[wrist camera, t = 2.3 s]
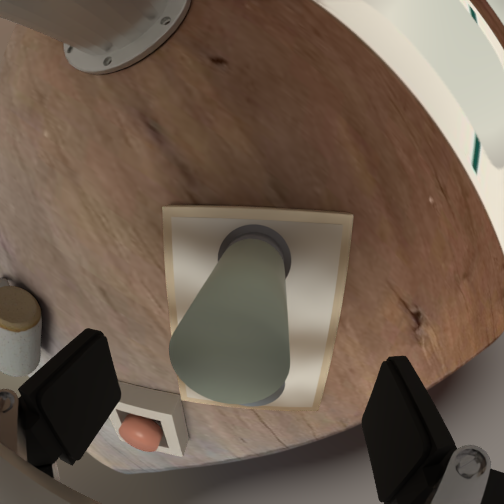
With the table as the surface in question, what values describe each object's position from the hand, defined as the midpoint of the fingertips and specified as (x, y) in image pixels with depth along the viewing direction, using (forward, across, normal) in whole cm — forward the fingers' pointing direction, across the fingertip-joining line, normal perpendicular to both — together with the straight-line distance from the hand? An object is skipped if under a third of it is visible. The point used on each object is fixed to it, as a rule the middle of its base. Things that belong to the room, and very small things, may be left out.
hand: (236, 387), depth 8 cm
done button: (+11, +11, +18) cm, 24 cm away
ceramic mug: (+13, +28, +8) cm, 32 cm away
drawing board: (+13, 0, +4) cm, 14 cm away
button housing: (+13, +12, +18) cm, 25 cm away
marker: (+12, 0, -1) cm, 12 cm away
